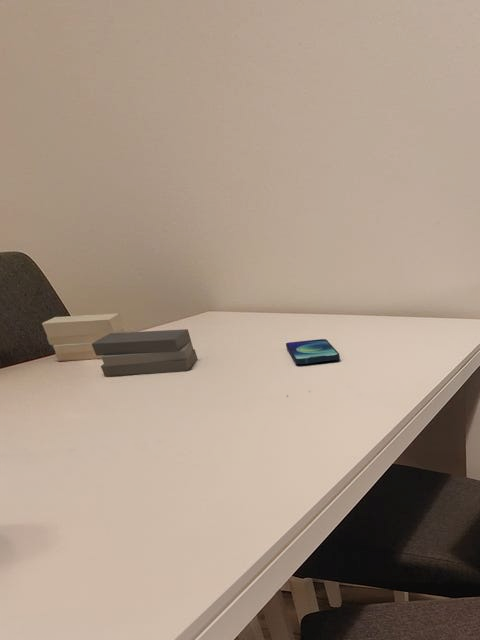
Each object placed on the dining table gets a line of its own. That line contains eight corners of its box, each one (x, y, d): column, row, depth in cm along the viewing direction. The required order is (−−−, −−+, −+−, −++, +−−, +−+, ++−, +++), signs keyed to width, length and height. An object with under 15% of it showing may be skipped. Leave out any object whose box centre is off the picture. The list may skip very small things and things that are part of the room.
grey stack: (101, 377, 95) (88, 345, 92) (118, 363, 102) (107, 333, 99) (189, 371, 97) (179, 339, 94) (200, 358, 104) (191, 328, 101)
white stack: (55, 362, 104) (44, 337, 102) (68, 353, 109) (59, 330, 107) (124, 357, 106) (115, 333, 103) (134, 349, 111) (126, 326, 109)
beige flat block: (47, 337, 102) (41, 323, 101) (60, 330, 107) (54, 317, 105) (114, 333, 104) (109, 319, 102) (124, 326, 108) (119, 313, 107)
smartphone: (326, 338, 110) (340, 354, 99) (326, 343, 110) (341, 360, 99) (284, 342, 108) (294, 359, 97) (286, 348, 108) (296, 365, 97)
